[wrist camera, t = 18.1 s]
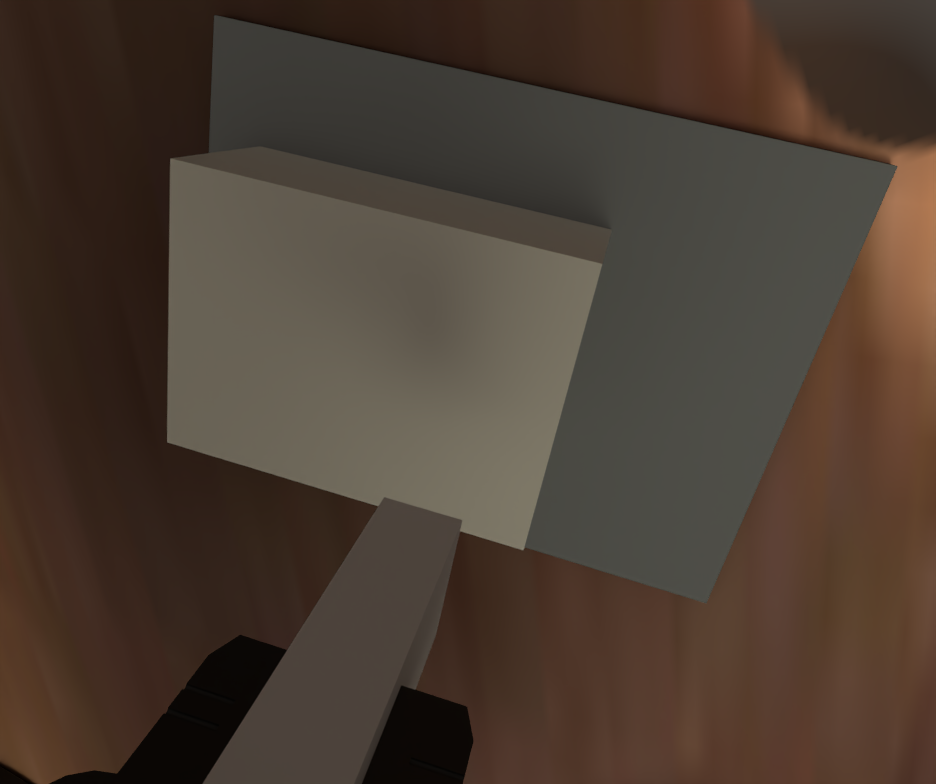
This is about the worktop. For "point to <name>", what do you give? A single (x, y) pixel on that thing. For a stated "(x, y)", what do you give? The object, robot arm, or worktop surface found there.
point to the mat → (605, 271)
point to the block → (373, 332)
